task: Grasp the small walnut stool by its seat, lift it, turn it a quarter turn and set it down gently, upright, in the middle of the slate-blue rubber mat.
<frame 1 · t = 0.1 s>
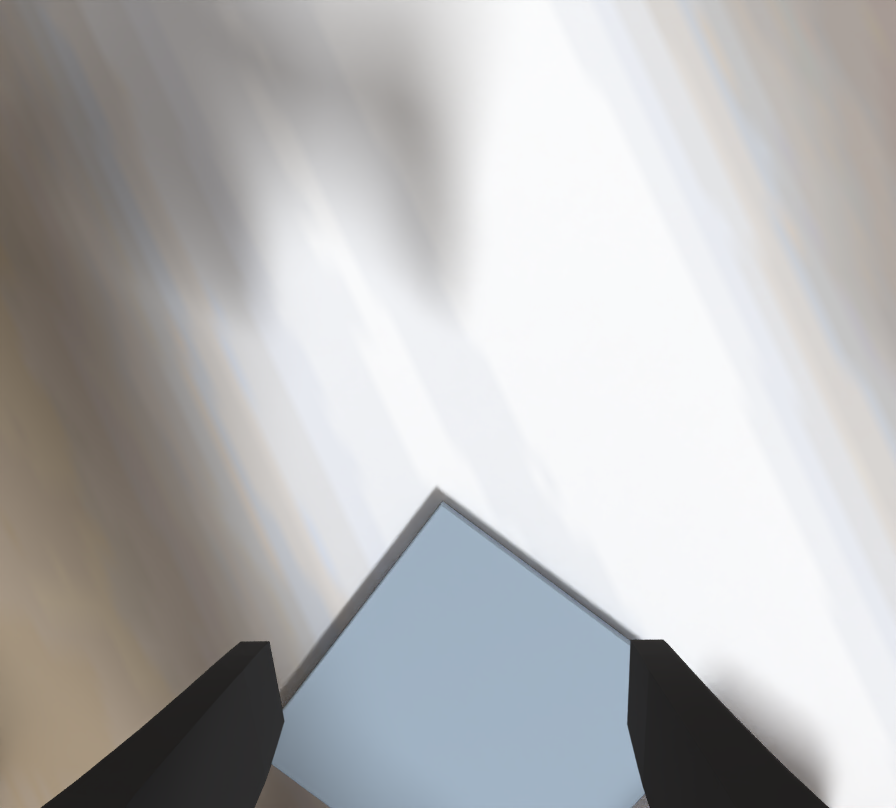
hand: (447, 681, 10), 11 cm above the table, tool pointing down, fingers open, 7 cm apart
mat: (476, 721, 21), on the table
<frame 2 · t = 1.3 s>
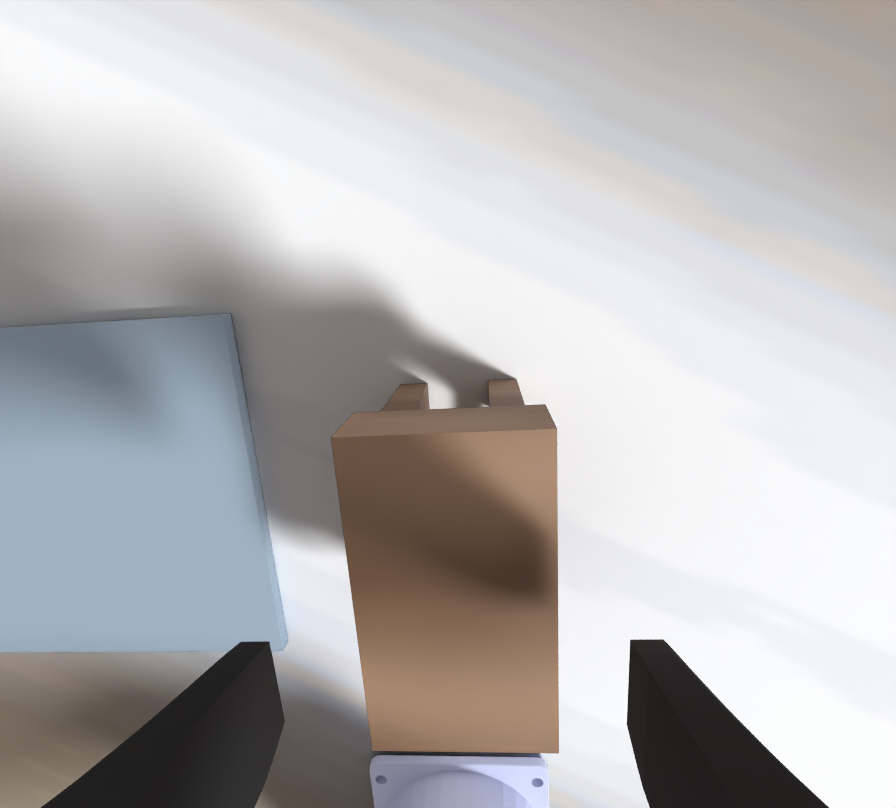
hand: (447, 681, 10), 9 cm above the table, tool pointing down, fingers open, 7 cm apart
mat: (96, 497, 20), on the table
stool: (463, 486, 19), on the table
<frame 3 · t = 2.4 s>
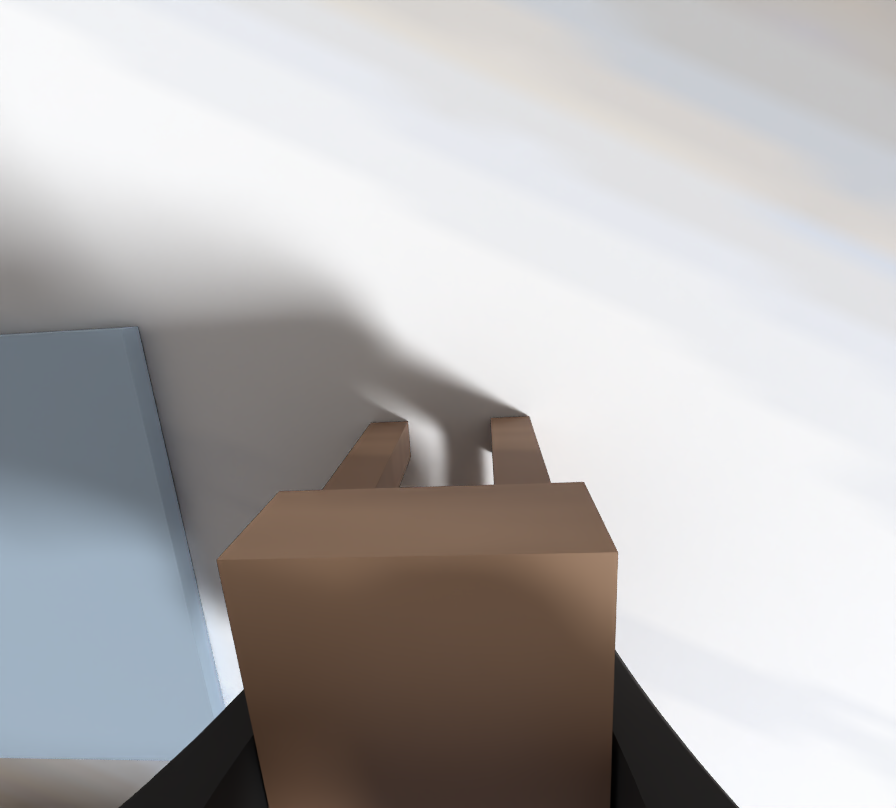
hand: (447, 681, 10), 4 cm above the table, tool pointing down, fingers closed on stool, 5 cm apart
stool: (457, 556, 14), on the table, touching gripper
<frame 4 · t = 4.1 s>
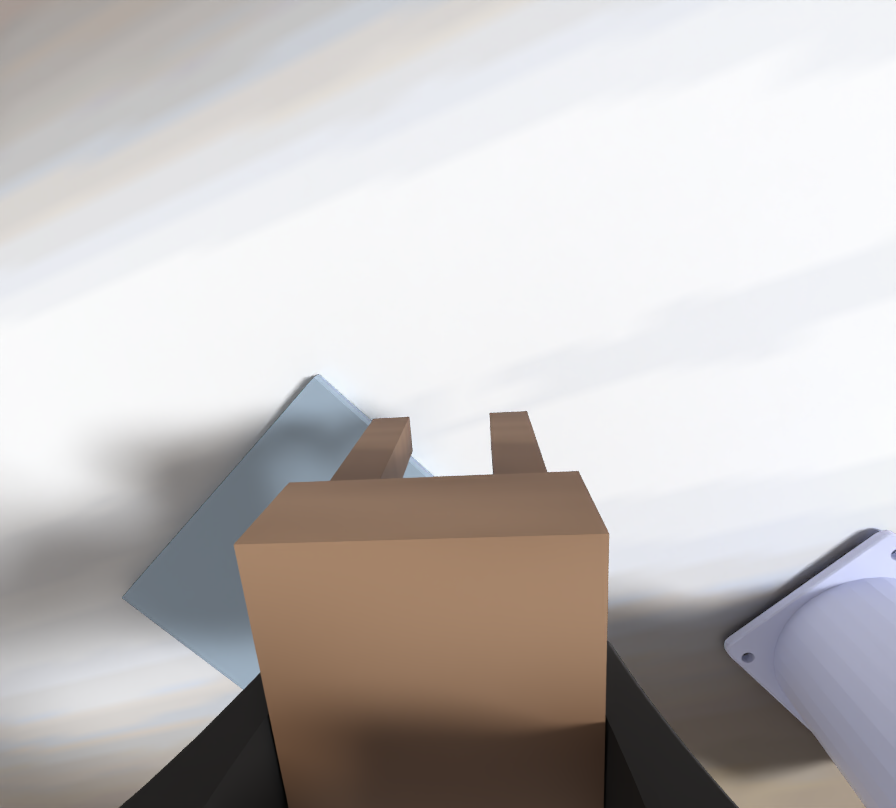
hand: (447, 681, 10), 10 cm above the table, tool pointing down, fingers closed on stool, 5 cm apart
mat: (341, 592, 22), on the table
stool: (458, 547, 14), point 6 cm above the table, touching gripper
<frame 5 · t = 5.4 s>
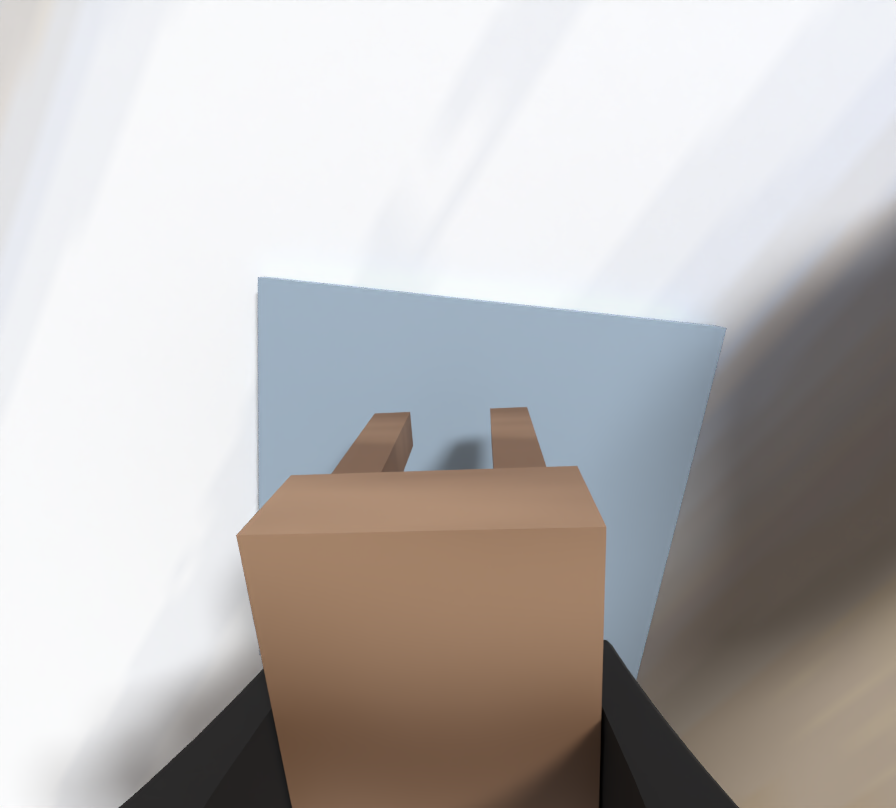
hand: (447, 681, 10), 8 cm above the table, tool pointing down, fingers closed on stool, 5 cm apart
mat: (462, 504, 17), on the table
stool: (458, 542, 14), point 3 cm above the table, touching gripper
when the fingers open (6 cm above the table, at t = 6.2 s): stool stays where it is, resting on mat.
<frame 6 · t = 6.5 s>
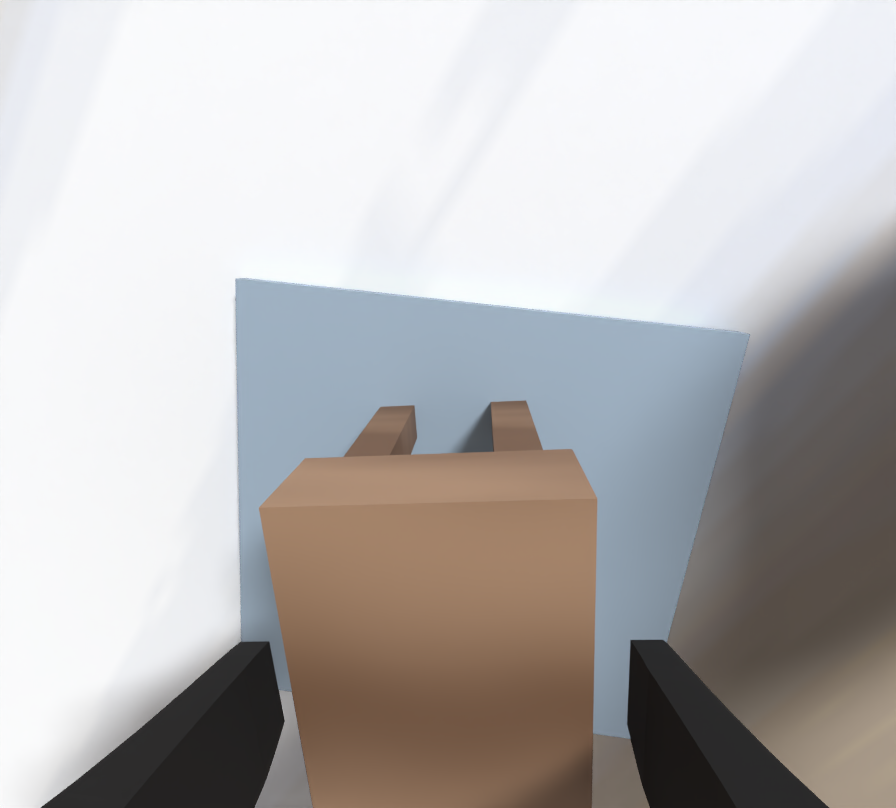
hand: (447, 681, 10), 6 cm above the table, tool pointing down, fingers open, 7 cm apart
mat: (460, 524, 16), on the table
stool: (460, 531, 15), point 1 cm above the table, touching mat
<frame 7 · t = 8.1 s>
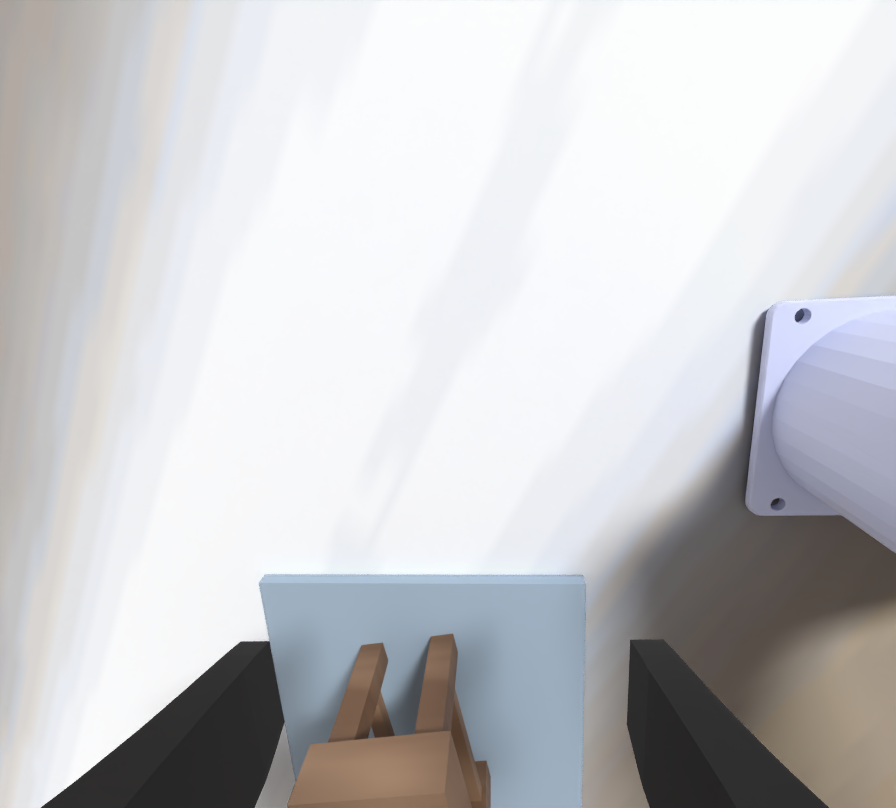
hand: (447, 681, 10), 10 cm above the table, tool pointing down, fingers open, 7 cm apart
mat: (429, 703, 23), on the table
stool: (428, 712, 22), point 1 cm above the table, touching mat
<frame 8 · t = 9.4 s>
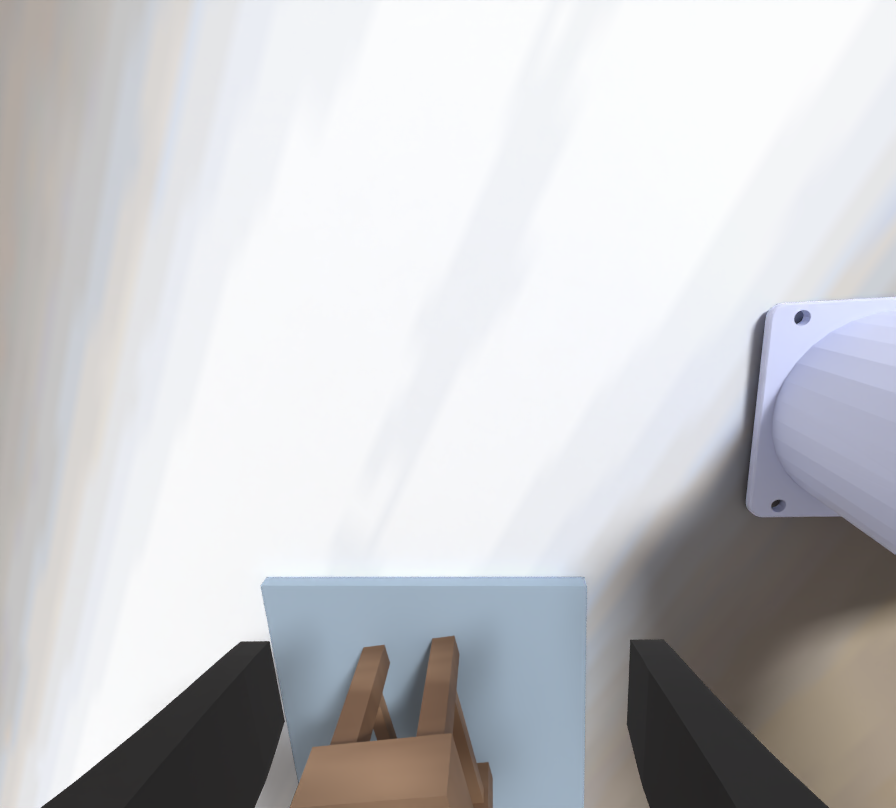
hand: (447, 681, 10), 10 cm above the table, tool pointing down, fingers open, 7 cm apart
mat: (431, 705, 23), on the table
stool: (430, 714, 22), point 1 cm above the table, touching mat
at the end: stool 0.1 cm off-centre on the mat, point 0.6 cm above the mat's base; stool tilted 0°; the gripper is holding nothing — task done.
